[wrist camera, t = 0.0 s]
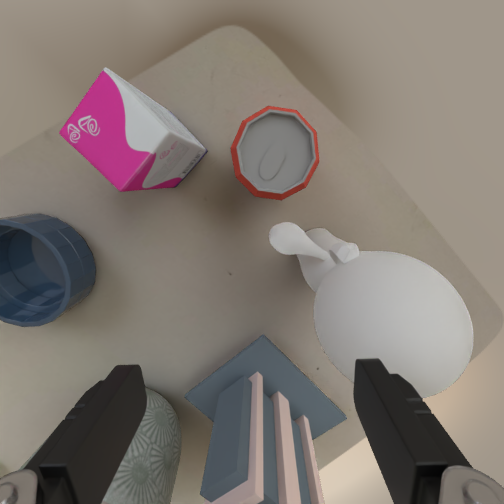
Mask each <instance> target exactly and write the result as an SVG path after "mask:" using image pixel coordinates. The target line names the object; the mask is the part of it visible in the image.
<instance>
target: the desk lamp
mask: <svg viewBox="0 0 504 504" xmlns="http://www.w3.org/2000/svg"><path fill="white" fill-rule="evenodd" d="M185 398H186V399H187V400H188V401H189V402H191V403H192V404H193V405H194V406H195V407H196V408H198V409H199V410H200V411H201V412H202V413H204V414H205V415H206V416H207V417H208V418H209V419H211V420H212V421H213V422H214V424H213V429H212V434H211V439H210V445H209V450H208V455H207V460H206V465H205V470H204V475H203V481H202V486H201V491H200V495H202V496H203V497H204V498H205V504H324V498H323V494H322V488H321V483H320V478H319V472H318V467H317V462H316V457H315V452H314V447H313V442H312V440H313V439H315V438H317V437H318V436H320V435H322V434H323V433H325V432H326V431H328V430H330V429H331V428H333V427H334V426H336V425H338V424H339V423H341V422H342V421H344V420H346V419H347V417H346V415H345V414H344V413H343V412H342V411H341V410H340V409H339V408H338V407H337V406H336V405H335V404H334V403H333V402H332V401H331V400H330V399H329V398H328V397H327V396H326V395H325V394H324V393H323V392H322V391H321V390H320V389H319V388H318V387H317V386H316V385H315V384H314V383H313V382H312V381H311V380H310V379H308V378H307V377H306V376H305V375H304V374H303V373H302V372H301V371H300V370H299V369H298V368H297V367H296V366H295V365H294V364H293V363H292V362H291V361H290V360H289V359H288V358H287V357H286V356H285V355H284V354H283V353H282V352H281V351H280V350H279V349H278V348H277V347H276V346H275V345H274V344H273V343H272V342H271V341H270V340H269V339H268V338H267V337H266V336H265V335H264V334H263V335H262V336H260V337H259V338H258V339H256V340H255V341H254V342H253V343H251V344H250V345H249V346H247V347H246V348H245V349H243V350H242V351H241V352H240V353H238V354H237V355H236V356H234V357H233V358H232V359H230V360H229V361H228V362H227V363H225V364H224V365H223V366H221V367H220V368H219V369H217V370H216V371H215V372H214V373H212V374H211V375H210V376H208V377H207V378H206V379H204V380H203V381H202V382H201V383H199V384H198V385H197V386H195V387H194V388H193V389H192V390H190V391H189V392H188V393H186V394H185Z"/></svg>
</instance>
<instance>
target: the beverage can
mask: <svg viewBox="0 0 504 504" xmlns="http://www.w3.org/2000/svg"><path fill="white" fill-rule="evenodd" d="M231 154H232V160H233V165H234V170H235V176H236V178H237V179H238V180H239V181H240V182H241V183H242V184H243V185H244V186H245V187H246V188H247V189H248V190H249V191H250V192H251V193H252V194H253V195H254V196H256V197H262V198H269V199H276V200H283V199H285V198H287V197H289V196H290V195H292V194H294V193H296V192H298V191H300V190H302V189H304V188H306V186H307V184H308V182H309V180H310V178H311V177H312V175H313V173H314V171H315V169H316V167H317V165H318V163H319V153H318V143H317V133H316V131H315V130H314V129H313V128H312V127H311V125H310V124H309V123H308V122H307V121H306V120H305V119H304V118H303V117H302V115H301V114H300V113H299V112H298V111H297V110H292V109H286V108H279V107H272V106H267V107H265V108H264V109H262V110H260V111H258V112H257V113H255V114H253V115H252V116H250V117H248V118H247V119H245V120H243V121H242V123H241V125H240V128H239V130H238V132H237V135H236V137H235V139H234V142H233V144H232V146H231Z"/></svg>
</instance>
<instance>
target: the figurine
mask: <svg viewBox="0 0 504 504" xmlns="http://www.w3.org/2000/svg"><path fill="white" fill-rule="evenodd" d="M269 241H270V243H271V245H272V246H273V247H274V248H275V250H277V251H278V252H280V253H282V254H286V255H292V254H296V256H297V258H298V259H299V262H300V267H301V270H302V273H303V276H304V278H305V280H306V282H307V283H308V285H309V286H310V287H311V289H312V290H313V291H314V292H316V296H315V301H314V309H313V317H314V325H315V330H316V333H317V337H318V339H319V342H320V344H321V346H322V348H323V350H324V352H325V353H326V355H327V357H328V358H329V359H330V361H331V362H332V363H333V364H334V366H335V367H336V368H337V369H338V370H339V371H340V372H341V373H342V374H343V375H344V376H345V377H347V378H348V379H349V380H351V381H352V382H353V383H354V374H355V361H356V359H369V358H379V359H380V360H381V361H382V363H383V364H384V366H385V367H386V369H387V370H388V372H389V374H399V375H400V376H401V377H403V378H404V379H405V380H407V381H408V382H409V383H410V384H412V385H413V387H414V388H415V389H416V391H417V392H418V394H419V395H420V396H421V398H426V397H430V396H433V395H436V394H438V393H440V392H442V391H444V390H445V389H447V388H448V387H450V386H451V385H452V384H453V383H454V382H456V381H457V380H458V378H459V377H460V376H461V375H462V374H463V372H464V371H465V369H466V367H467V365H468V363H469V360H470V357H471V354H472V349H473V327H472V322H471V318H470V315H469V312H468V309H467V307H466V305H465V303H464V301H463V299H462V298H461V296H460V295H459V293H458V292H457V290H456V289H455V288H454V287H453V285H452V284H451V283H450V282H449V281H448V280H447V279H446V278H445V277H444V276H443V275H441V274H440V273H439V272H438V271H436V270H435V269H434V268H432V267H431V266H429V265H427V264H426V263H424V262H422V261H420V260H417V259H415V258H413V257H410V256H407V255H404V254H400V253H396V252H388V251H371V252H369V251H359V249H358V247H357V245H356V244H355V243H346V242H345V241H343V240H341V239H339V238H337V237H335V236H333V235H332V234H331V233H330V232H329V231H328V230H327V229H324V228H315V229H311V230H309V231H307V232H304V231H303V230H302V229H301V228H299V227H298V226H297V225H296V224H294V223H291V222H283V223H280V224H277V225H275V226H274V227H272V228H271V230H270V233H269Z"/></svg>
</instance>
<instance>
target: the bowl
mask: <svg viewBox="0 0 504 504" xmlns="http://www.w3.org/2000/svg"><path fill="white" fill-rule="evenodd" d="M95 273H96V267H95V263H94V259H93V254H92V252H91V251H90V249H89V247H88V246H87V244H86V242H85V240H84V239H83V238H82V237H81V236H80V235H79V234H78V233H77V232H76V231H75V230H74V229H73V228H72V227H71V226H69V225H68V224H66V223H64V222H62V221H61V220H59V219H57V218H55V217H51V216H47V215H43V214H24V215H18V216H11V217H5V218H0V320H1V321H3V322H5V323H9V324H13V325H17V326H21V327H32V326H41V325H44V324H46V323H49V322H52V321H54V320H55V319H57V318H58V317H60V316H61V315H62V314H64V313H65V312H67V311H68V310H70V309H71V308H73V307H74V306H76V305H77V304H78V303H80V302H81V301H82V300H83V299H84V298H85V297H87V296H88V295H89V293H90V291H91V289H92V287H93V285H94V282H95Z"/></svg>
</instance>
